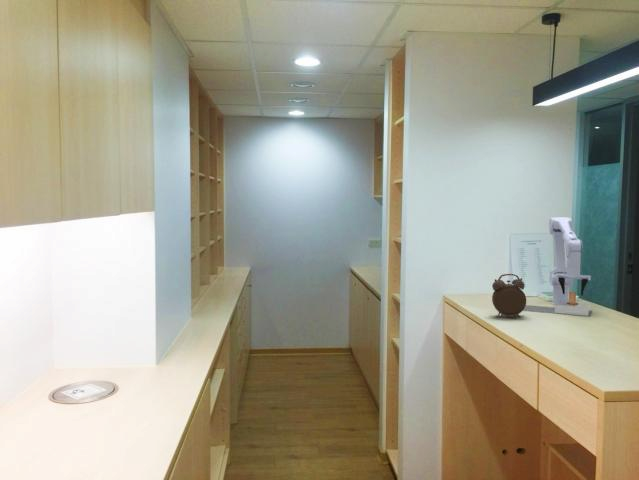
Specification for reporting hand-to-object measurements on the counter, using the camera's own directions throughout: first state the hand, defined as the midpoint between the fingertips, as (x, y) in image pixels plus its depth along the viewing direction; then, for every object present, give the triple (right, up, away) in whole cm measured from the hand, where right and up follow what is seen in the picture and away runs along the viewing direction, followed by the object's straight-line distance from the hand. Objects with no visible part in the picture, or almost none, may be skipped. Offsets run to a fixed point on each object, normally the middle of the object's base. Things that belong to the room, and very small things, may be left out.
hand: (572, 294), depth 248 cm
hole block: (0, -8, +1) cm, 8 cm away
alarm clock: (-32, -10, -5) cm, 34 cm away
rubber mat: (-6, -9, +4) cm, 11 cm away
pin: (0, -8, +1) cm, 8 cm away
